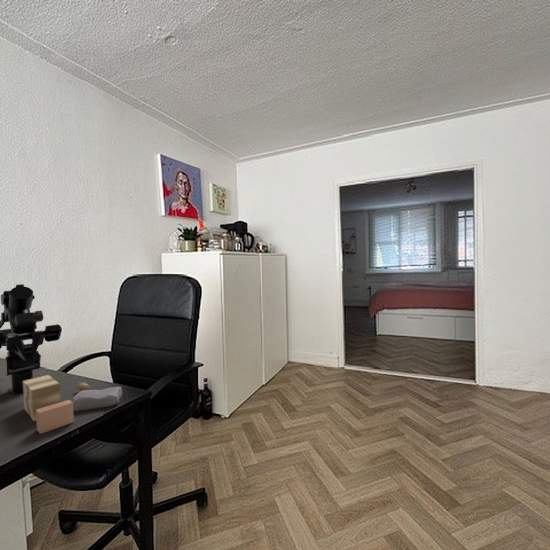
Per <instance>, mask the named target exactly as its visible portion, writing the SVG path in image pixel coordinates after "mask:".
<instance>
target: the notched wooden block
mask: <svg viewBox="0 0 550 550" xmlns="http://www.w3.org/2000/svg"><path fill="white" fill-rule="evenodd" d="M22 394H23V409H24V410H25V411H26V414H27V415H29V418H31V420H32V421H33V422H35V421H36V409H40V408H43V407H46V406H50V405H53V404H57V403H60V402H62V401H61V385H60V382H58V381H57V380H56V379H55V378H53V377H52V376H51V375H49V374H46V375H42V376H38V377H34V378H33V379H29V380H24V381H23V392H22Z"/></svg>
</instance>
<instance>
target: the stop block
mask: <svg viewBox="0 0 550 550" xmlns="http://www.w3.org/2000/svg"><path fill="white" fill-rule="evenodd" d="M74 416H75V415H74V411H73V402H72V400H70V399H67V400H64V401H61V402H60V403H57V404H53V405H50V406H46V407H43V408H40V409H36V422H35V423H36V430H37V432H38V434H39V435H41V434H44V433H47V432H50V431H52V430H57V429H58V428H62V427H64V426H67V425H70V424H73V423H74V422H75V421H74V418H75V417H74Z"/></svg>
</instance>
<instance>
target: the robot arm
mask: <svg viewBox="0 0 550 550" xmlns="http://www.w3.org/2000/svg"><path fill="white" fill-rule="evenodd" d="M2 293H3V294H0V304H1V306H3V312H0V350H1V349H2V347H5V348H6V351H7V352H6V355H7V356H5V358H4V366H3V367H4V374H5V375H6V376H10V379H11V388H8V389H7V391H8V392H10V393H13V394H14V395H16V394H20V393H23V381H24V380H29V379H33V378H35V377H34V371H35V370H39V369H40V368H41V358H42V355H41V354H40V352H39V351H38V349H39V346H41V345H43V344H44V341H45V342H48V343H49V342H55V341H59V340H60V339H61V335H62V330H63V328H62V326H61V325H60V324H57V323H56V324H52V325H51V324H50V325H46V326H45V327H44V328H45V329H44V330H43V329H41V330H37V328H38V326H37V323H38V322H39V323H40V322H43V321H44V313H43V310H35V311H33V312H31V308H32V304H33V301H34V299H35V295H34V291H33V290H32V289H31V288H30V287H28V286H25V285H24V284H23V283H22V284H15V287H12V289H10V290H3V292H2ZM5 323H9V325H10V326H9V327H10V328H5V329H2V328H3V326H4V325H5ZM28 340H31V343H24V341H28Z"/></svg>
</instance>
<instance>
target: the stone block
mask: <svg viewBox="0 0 550 550" xmlns="http://www.w3.org/2000/svg"><path fill="white" fill-rule="evenodd" d="M122 396H123V389H122V386H118V385H117V386H112V387H110V386H109V387H106V388H103V389H92V390H82V391H80V392H78V393H76V394H75V395H74V396H73V398H72V399H71V402H73V412H80V411H86V410H87V411H88V410H94V409H100V408H107V407H108V408H109V407H113V406H116V405H118V404H119V403H120V399H121V398H122Z"/></svg>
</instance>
